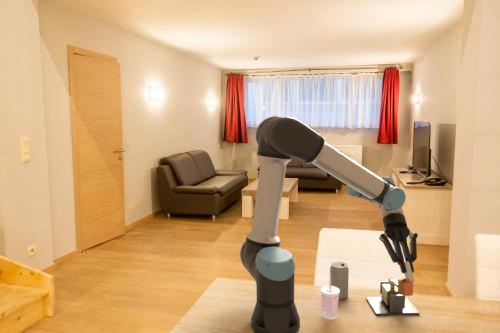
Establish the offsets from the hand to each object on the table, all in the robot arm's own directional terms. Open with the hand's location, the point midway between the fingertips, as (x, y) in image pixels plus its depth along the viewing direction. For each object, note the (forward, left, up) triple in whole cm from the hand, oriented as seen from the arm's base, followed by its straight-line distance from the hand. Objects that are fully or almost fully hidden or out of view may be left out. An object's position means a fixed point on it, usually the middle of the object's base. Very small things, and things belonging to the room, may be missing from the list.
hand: (410, 282), depth 122 cm
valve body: (-3, +6, -12) cm, 13 cm away
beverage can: (-19, +14, -12) cm, 27 cm away
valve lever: (-3, +2, -3) cm, 5 cm away
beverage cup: (-25, +1, -12) cm, 28 cm away
